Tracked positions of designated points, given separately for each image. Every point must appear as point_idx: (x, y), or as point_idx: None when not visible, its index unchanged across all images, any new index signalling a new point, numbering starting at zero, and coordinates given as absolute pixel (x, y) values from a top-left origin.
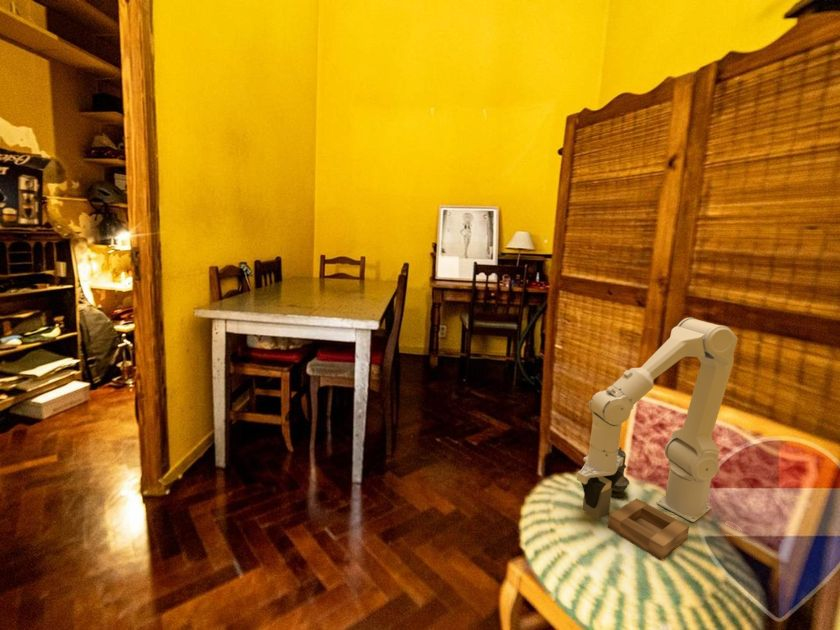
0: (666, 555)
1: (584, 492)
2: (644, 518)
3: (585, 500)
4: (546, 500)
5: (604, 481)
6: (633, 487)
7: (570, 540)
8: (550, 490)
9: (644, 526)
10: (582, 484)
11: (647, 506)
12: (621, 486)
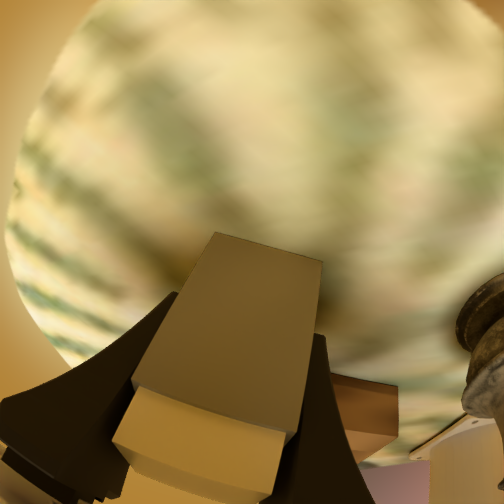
0: None
1: (118, 341)
2: None
3: (159, 303)
4: (122, 35)
5: (200, 492)
6: None
7: (36, 251)
8: None
9: None
10: (60, 381)
11: (357, 452)
12: (463, 407)
